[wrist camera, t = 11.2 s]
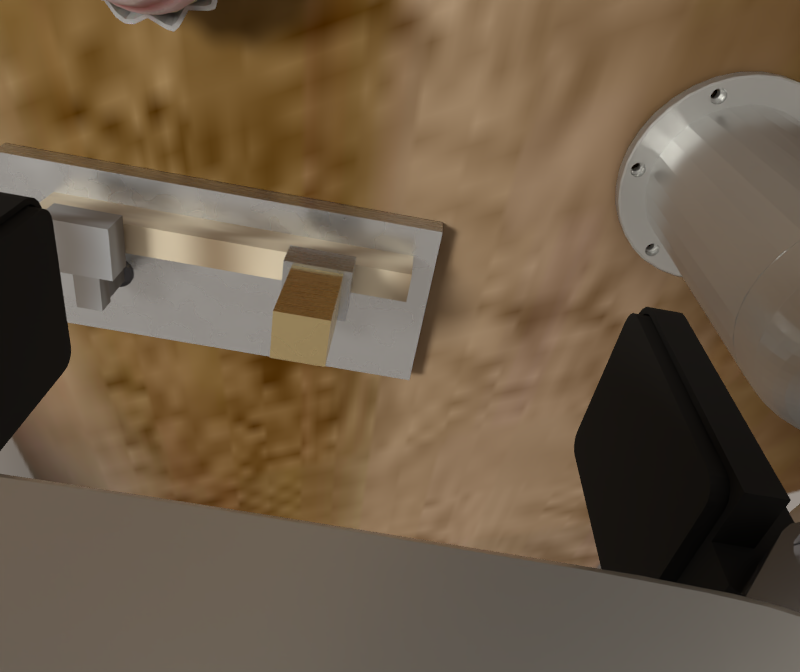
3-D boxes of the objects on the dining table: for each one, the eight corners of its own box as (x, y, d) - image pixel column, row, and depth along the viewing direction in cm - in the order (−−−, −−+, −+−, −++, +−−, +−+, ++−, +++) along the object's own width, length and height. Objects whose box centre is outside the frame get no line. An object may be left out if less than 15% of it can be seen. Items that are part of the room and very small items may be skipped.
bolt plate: (442, 222, 42) (442, 232, 41) (410, 367, 49) (409, 380, 48) (4, 143, 41) (-10, 151, 40) (33, 303, 48) (21, 315, 46)
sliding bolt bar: (415, 246, 42) (412, 283, 38) (398, 327, 45) (394, 368, 41) (52, 181, 40) (9, 212, 37) (64, 269, 44) (26, 306, 40)
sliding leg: (360, 240, 41) (340, 319, 33) (348, 322, 45) (328, 411, 37) (297, 228, 41) (263, 305, 33) (290, 312, 44) (257, 399, 37)
